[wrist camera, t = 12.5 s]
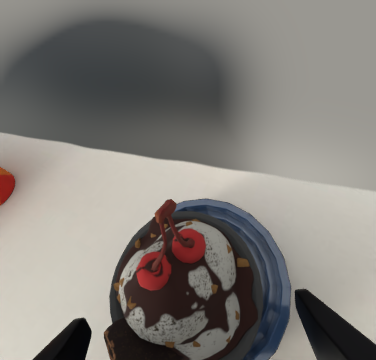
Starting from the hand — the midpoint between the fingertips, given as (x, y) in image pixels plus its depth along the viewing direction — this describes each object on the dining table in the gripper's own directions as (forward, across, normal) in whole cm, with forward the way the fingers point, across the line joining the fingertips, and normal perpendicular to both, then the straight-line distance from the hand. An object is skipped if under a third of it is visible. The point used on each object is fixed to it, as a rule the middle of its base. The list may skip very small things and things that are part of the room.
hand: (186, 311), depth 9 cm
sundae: (+8, 0, +6) cm, 10 cm away
